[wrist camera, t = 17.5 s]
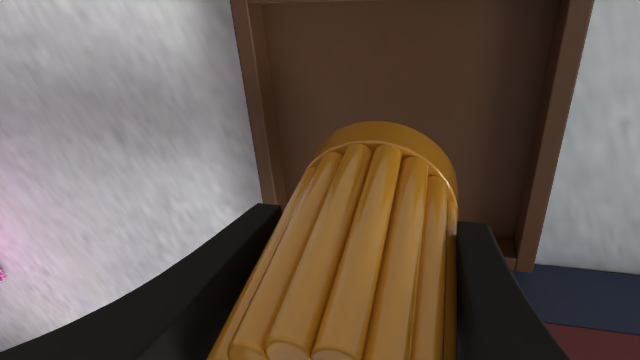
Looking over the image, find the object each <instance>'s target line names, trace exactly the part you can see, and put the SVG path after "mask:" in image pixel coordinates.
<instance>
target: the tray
mask: <svg viewBox="0 0 640 360" xmlns="http://www.w3.org/2000/svg"><path fill="white" fill-rule="evenodd" d="M593 4H594V0H230V5H231V11H232V17H233V23H234V29H235V35H236V41H237V47H238V53H239V59H240V65H241V71H242V77H243V84H244V90H245V96H246V102H247V108H248V114H249V120H250V126H251V132H252V138H253V144H254V150H255V156H256V162H257V169H258V175H259V181H260V187H261V193H262V199H263V204H272V205H281V208H282V213H283V211H284V209H285V207H286V206H287V204H288V202H289V200H290V198H291V196H292V194H293V192H294V190H295V188H296V187H297V185H298V183H299V181H300V179H301V176H302V174H303V173H304V171H305V169H306V167H307V165H308V163H309V161H310V159H311V157H312V156H313V154H314V152H315V150H316V149H317V148H318V146H319V145H320V144H321V143H322V142H323V141H324V140H325V139H326V138H327V137H328V136H329V135H331V134H332V133H334V132H335V131H337V130H339V129H341V128H343V127H346V126H349V125H352V124H355V123H360V122H366V121H387V122H393V123H398V124H401V125H404V126H407V127H410V128H412V129H415V130H417V131H418V132H420V133H422V134H424V135H425V136H427V137H428V138H429V139H431V140H432V141H433V142H435V143H436V144H437V145H438V146H439V147H440V148H441V149H442V150H443V152H444V153H445V154H446V156H447V157H448V159H449V160H450V162H451V164H452V166H453V168H454V171H455V173H456V177H457V182H458V221H465V222H476V223H487V224H488V225H489V226H490V228H491V229H492V232H493V234H494V237H495V239H496V241H497V244H498V246H499V248H500V250H501V252H502V254H503V256H504V258H505V260H506V262H507V264H508V266H509V267H510V269H511V270H514V269H515V271H519V272H528V273H532V271H533V267H534V262H535V258H536V254H537V249H538V245H539V240H540V236H541V232H542V227H543V223H544V219H545V214H546V210H547V205H548V201H549V197H550V192H551V188H552V184H553V179H554V175H555V170H556V166H557V162H558V157H559V153H560V149H561V144H562V140H563V135H564V131H565V127H566V122H567V118H568V114H569V109H570V105H571V101H572V96H573V92H574V87H575V83H576V79H577V74H578V70H579V66H580V61H581V57H582V52H583V48H584V44H585V39H586V35H587V31H588V26H589V22H590V17H591V13H592V9H593Z"/></svg>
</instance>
